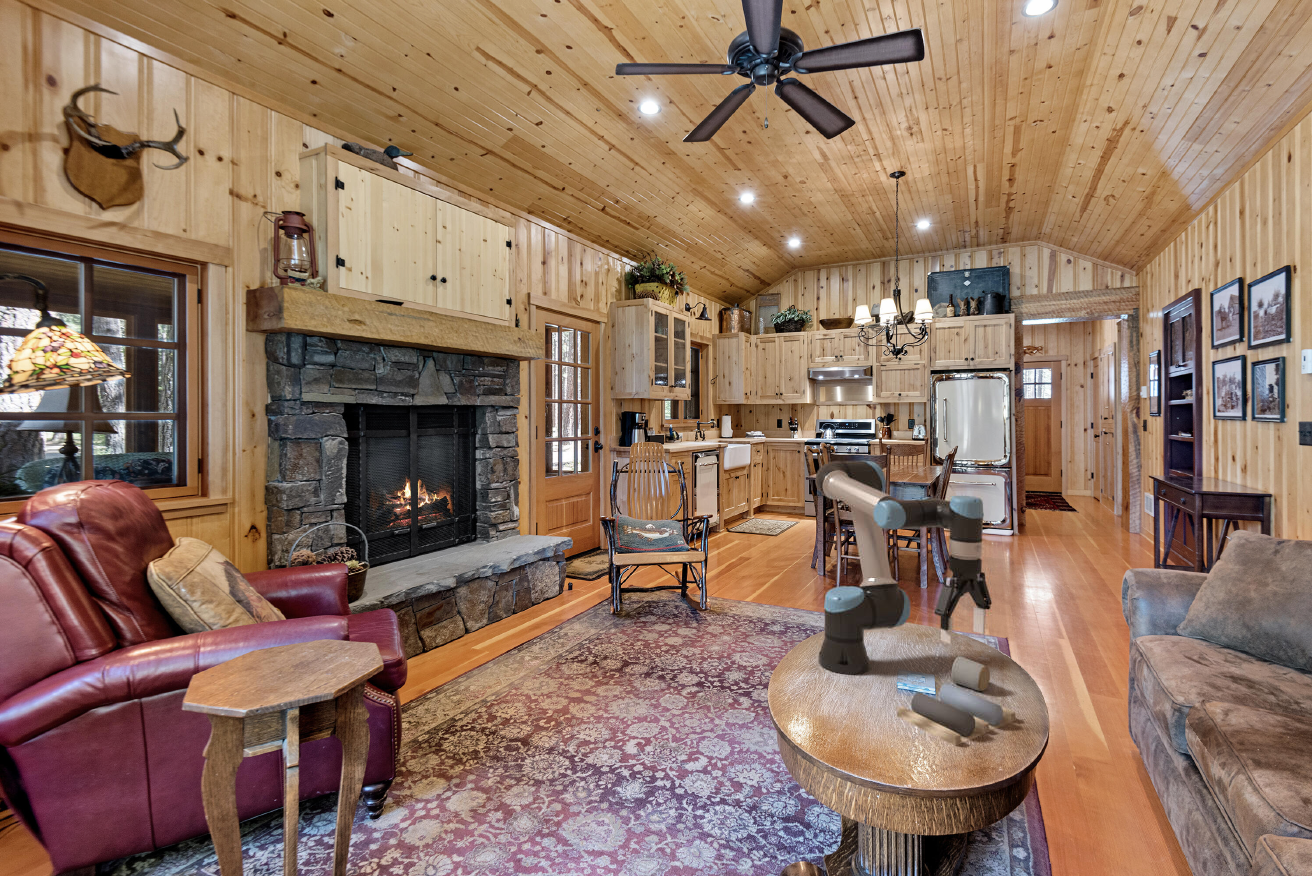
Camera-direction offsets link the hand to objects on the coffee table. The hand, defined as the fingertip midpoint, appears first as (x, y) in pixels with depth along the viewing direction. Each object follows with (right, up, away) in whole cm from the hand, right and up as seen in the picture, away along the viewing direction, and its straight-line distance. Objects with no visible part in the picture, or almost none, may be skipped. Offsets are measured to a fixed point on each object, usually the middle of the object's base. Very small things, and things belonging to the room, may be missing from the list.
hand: (963, 637), depth 155 cm
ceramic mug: (+11, -19, +16) cm, 27 cm away
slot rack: (-4, -20, -5) cm, 20 cm away
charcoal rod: (-11, -18, -8) cm, 23 cm away
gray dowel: (+1, -19, -2) cm, 19 cm away
